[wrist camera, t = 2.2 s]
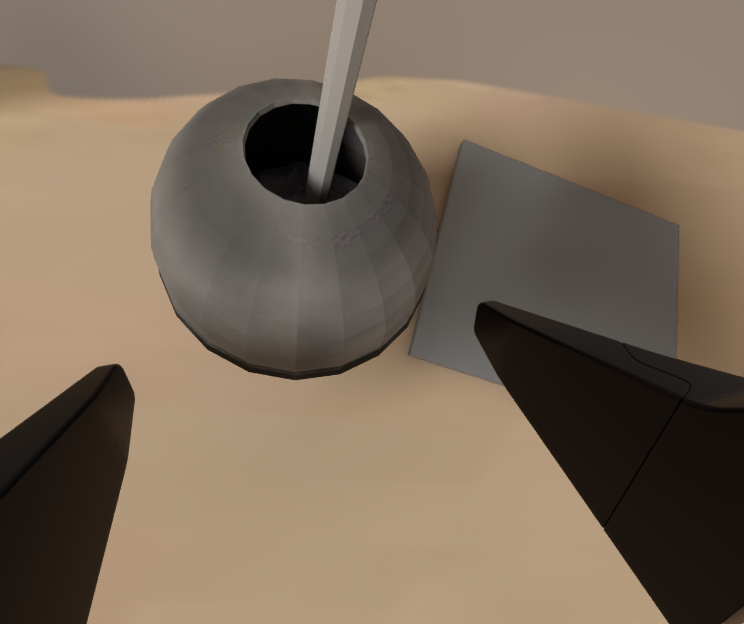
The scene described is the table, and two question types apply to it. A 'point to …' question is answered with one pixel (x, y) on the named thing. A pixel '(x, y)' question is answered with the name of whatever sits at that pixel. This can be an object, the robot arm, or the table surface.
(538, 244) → the rubber mat
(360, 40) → the beverage cup
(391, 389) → the table surface
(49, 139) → the table surface
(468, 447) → the table surface
